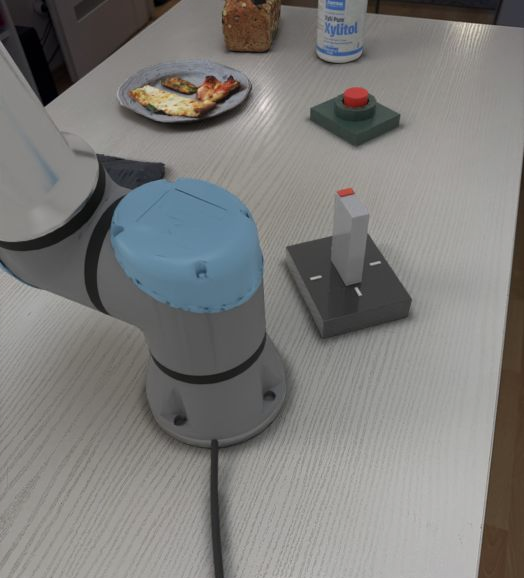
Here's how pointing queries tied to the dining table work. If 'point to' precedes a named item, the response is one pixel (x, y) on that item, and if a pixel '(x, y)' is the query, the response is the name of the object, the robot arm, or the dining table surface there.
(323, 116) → the switch box
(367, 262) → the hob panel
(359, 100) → the power button
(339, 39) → the supplement tub
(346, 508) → the dining table surface
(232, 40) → the bread
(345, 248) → the grey block red corner
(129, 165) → the dark slate chunk
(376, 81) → the dining table surface
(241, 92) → the food plate
